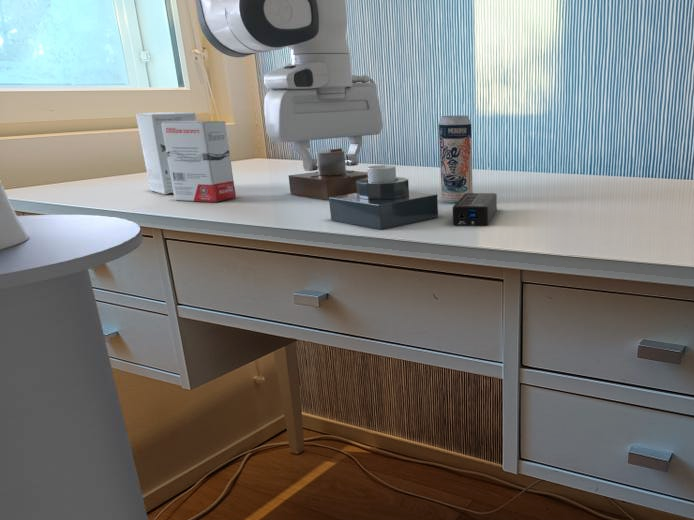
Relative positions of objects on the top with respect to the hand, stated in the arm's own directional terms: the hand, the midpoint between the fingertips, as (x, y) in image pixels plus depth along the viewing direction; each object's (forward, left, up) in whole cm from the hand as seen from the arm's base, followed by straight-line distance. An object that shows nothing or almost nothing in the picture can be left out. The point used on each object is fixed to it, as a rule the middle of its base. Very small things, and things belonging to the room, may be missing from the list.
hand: (331, 168), depth 111 cm
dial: (0, 0, -1) cm, 1 cm away
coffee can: (+6, -22, -4) cm, 23 cm away
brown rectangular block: (0, 0, -4) cm, 4 cm away
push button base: (-10, -24, -4) cm, 26 cm away
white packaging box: (-14, +25, -4) cm, 29 cm away
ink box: (-16, +12, -4) cm, 20 cm away
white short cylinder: (-10, -24, +1) cm, 26 cm away
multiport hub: (-2, -33, -4) cm, 33 cm away
